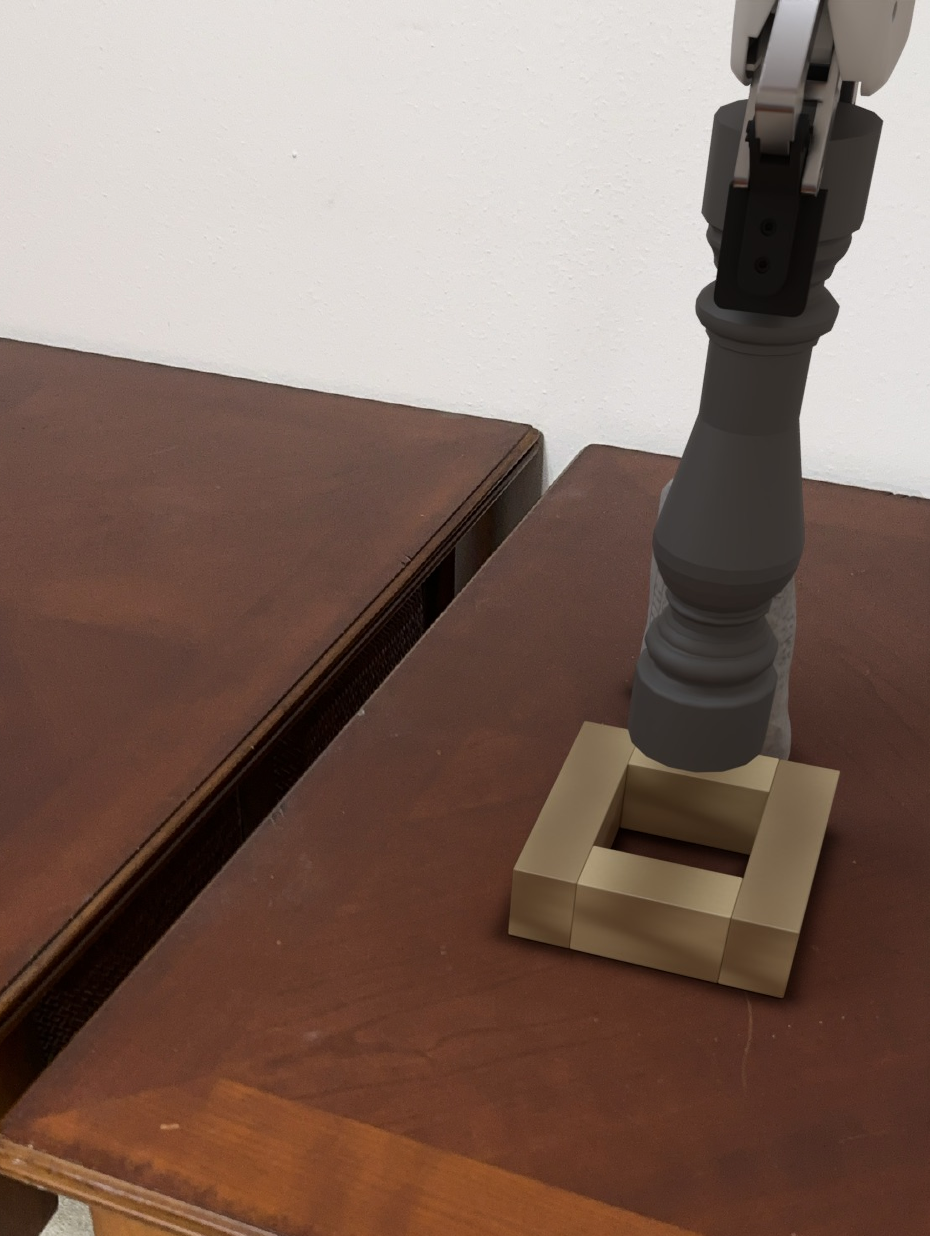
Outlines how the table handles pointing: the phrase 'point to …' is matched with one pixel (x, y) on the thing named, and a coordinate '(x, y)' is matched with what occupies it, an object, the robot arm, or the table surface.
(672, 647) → the candle holder
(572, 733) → the table surface
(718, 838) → the socket stand
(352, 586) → the table surface
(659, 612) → the decorative stone
